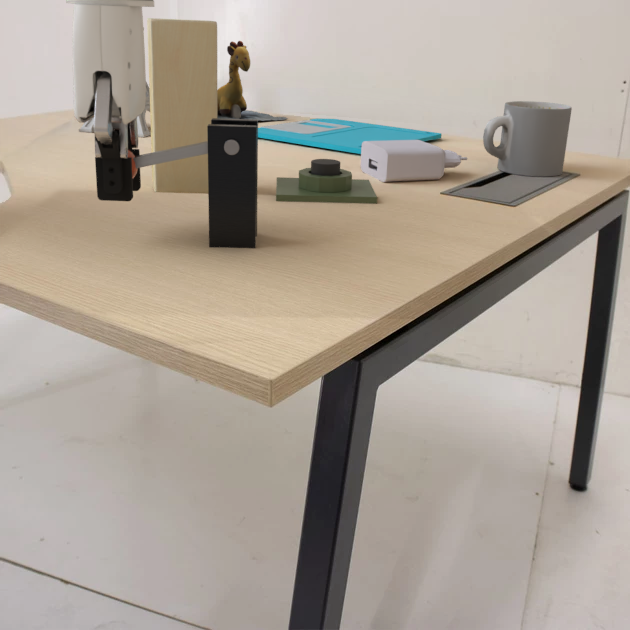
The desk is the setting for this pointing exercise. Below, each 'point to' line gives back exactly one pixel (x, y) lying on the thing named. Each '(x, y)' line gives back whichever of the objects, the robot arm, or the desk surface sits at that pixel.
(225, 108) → the stuffed giraffe
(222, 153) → the bracket
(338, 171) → the button
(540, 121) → the coffee mug
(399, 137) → the diskette
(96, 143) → the robot arm
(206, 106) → the tall wooden block
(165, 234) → the desk surface
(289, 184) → the control block
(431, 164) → the charger
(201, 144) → the lever
